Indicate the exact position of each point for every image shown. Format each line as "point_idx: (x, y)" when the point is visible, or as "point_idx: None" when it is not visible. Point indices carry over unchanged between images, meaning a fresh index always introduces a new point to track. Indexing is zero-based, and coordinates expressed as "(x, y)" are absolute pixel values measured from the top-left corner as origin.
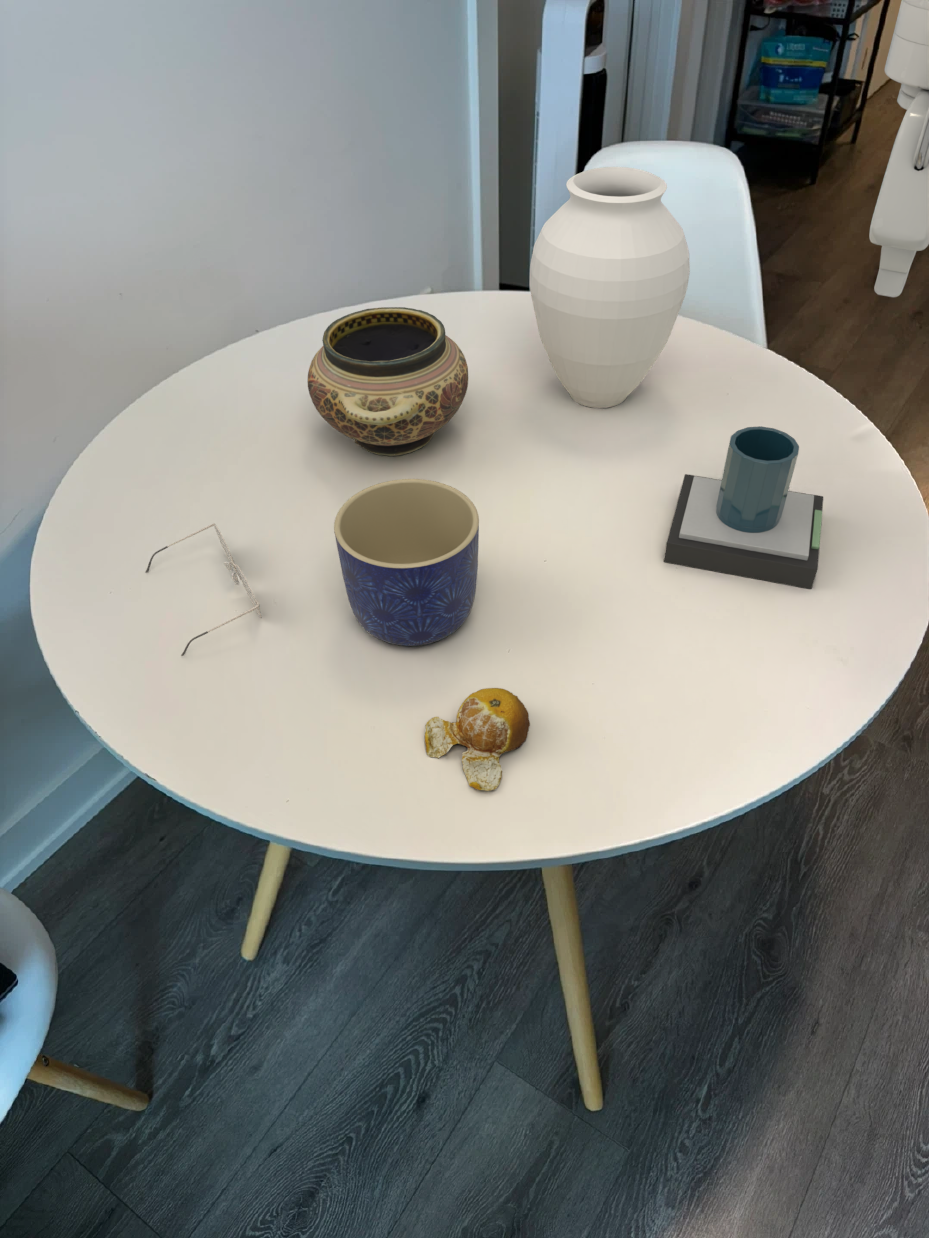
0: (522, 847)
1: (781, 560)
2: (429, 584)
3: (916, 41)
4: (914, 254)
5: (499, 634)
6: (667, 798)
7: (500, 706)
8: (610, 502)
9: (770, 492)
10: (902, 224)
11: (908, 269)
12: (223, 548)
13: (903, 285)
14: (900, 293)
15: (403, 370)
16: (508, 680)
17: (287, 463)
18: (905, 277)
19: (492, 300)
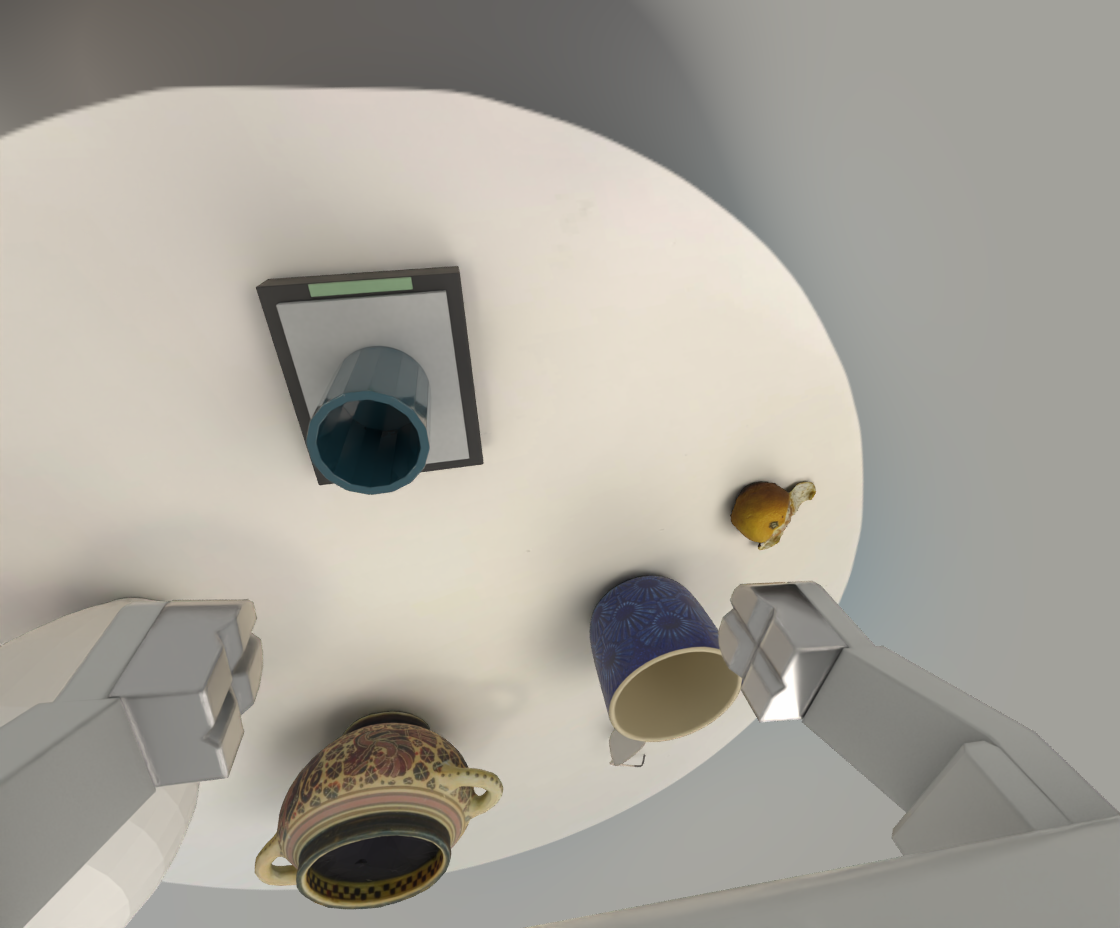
0: (856, 445)
1: (460, 325)
2: None
3: None
4: (1030, 729)
5: (643, 544)
6: (805, 357)
7: (776, 520)
8: (392, 533)
9: (419, 392)
10: None
11: (909, 661)
12: (609, 739)
13: (836, 605)
14: (815, 584)
15: (426, 821)
16: (696, 516)
17: (478, 768)
18: (859, 631)
19: None
